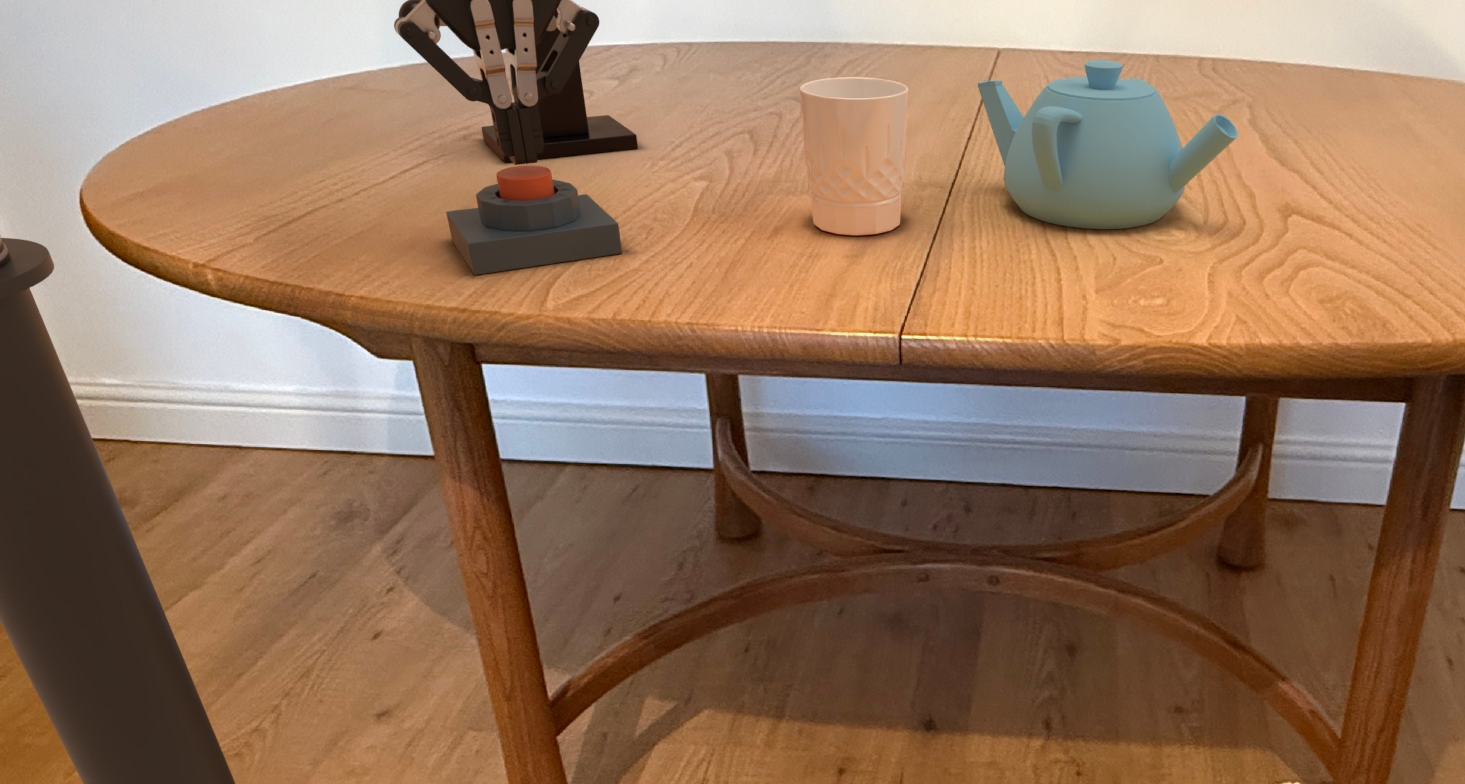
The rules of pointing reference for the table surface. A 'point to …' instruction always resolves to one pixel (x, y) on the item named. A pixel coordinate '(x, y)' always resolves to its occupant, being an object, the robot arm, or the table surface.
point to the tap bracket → (570, 117)
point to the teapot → (1098, 149)
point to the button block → (532, 230)
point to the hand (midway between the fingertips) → (523, 161)
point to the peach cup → (855, 152)
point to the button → (525, 183)
